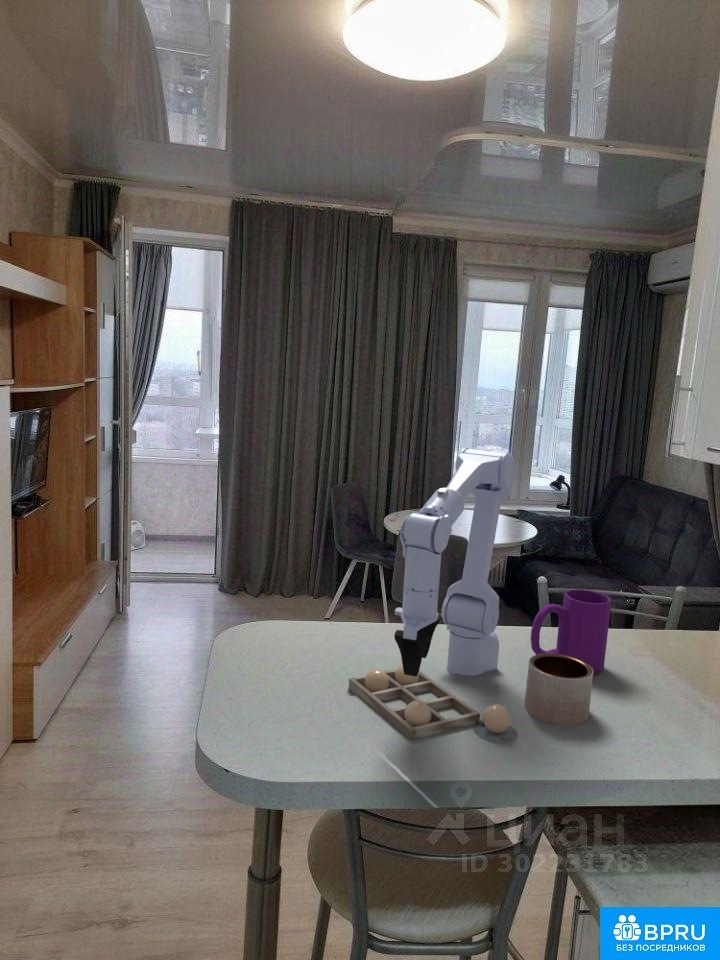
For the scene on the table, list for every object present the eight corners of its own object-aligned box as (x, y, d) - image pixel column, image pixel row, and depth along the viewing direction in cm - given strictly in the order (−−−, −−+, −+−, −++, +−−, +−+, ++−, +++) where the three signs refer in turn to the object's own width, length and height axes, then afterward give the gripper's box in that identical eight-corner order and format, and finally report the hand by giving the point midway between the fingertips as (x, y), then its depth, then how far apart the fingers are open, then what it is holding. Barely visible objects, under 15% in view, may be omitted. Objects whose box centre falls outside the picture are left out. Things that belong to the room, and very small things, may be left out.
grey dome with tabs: (496, 725, 117) (497, 713, 117) (526, 745, 111) (527, 733, 111) (463, 734, 113) (464, 722, 113) (492, 756, 107) (493, 743, 107)
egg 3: (420, 718, 116) (422, 693, 115) (435, 730, 112) (437, 705, 111) (398, 723, 114) (399, 698, 113) (413, 736, 110) (415, 710, 109)
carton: (410, 680, 132) (412, 665, 131) (478, 730, 115) (480, 713, 114) (348, 694, 125) (349, 678, 125) (410, 749, 108) (411, 731, 108)
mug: (611, 676, 139) (619, 604, 137) (536, 675, 137) (543, 602, 135) (591, 657, 148) (599, 589, 146) (521, 656, 146) (527, 588, 144)
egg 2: (409, 680, 130) (410, 657, 129) (422, 690, 126) (424, 667, 125) (389, 684, 128) (390, 661, 127) (402, 694, 124) (404, 671, 123)
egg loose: (496, 722, 115) (499, 697, 114) (515, 735, 111) (517, 709, 110) (476, 727, 113) (478, 702, 112) (494, 741, 109) (496, 714, 108)
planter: (569, 701, 127) (575, 651, 126) (599, 732, 117) (606, 678, 115) (513, 703, 125) (518, 653, 124) (539, 734, 115) (544, 680, 113)
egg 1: (380, 686, 127) (381, 663, 126) (393, 696, 123) (394, 673, 122) (359, 690, 125) (360, 667, 124) (371, 701, 121) (373, 677, 120)
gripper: (407, 571, 121) (402, 645, 124) (386, 596, 108) (381, 679, 110) (447, 577, 120) (441, 652, 122) (431, 603, 106) (425, 686, 108)
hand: (415, 665), depth 116 cm, fingers open, 7 cm apart
